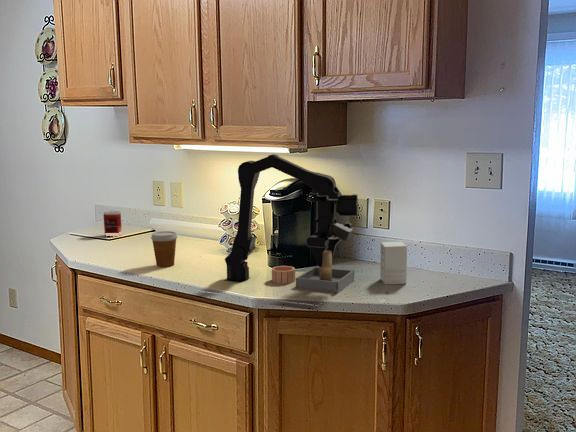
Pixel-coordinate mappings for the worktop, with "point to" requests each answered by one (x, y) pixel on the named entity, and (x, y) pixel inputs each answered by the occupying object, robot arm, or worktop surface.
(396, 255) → the supplement box
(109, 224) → the canned food
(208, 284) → the worktop surface
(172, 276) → the worktop surface
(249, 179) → the robot arm
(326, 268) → the dowel
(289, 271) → the pink short hollow cylinder
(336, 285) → the tray
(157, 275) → the worktop surface
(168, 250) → the disposable coffee cup
